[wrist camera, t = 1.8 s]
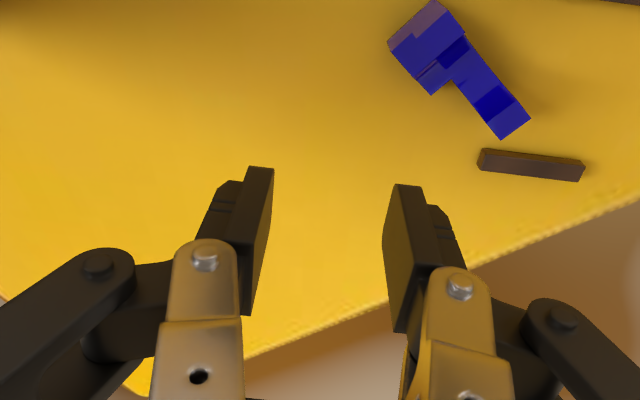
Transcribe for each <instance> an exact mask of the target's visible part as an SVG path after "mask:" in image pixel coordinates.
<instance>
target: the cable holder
mask: <svg viewBox="0 0 640 400" xmlns="http://www.w3.org/2000/svg"><path fill="white" fill-rule="evenodd" d="M464 33H465V32H464V30H463V29H462V28H461V26H460V25H459V24H458V22H457V21H456V20H455V18H454V17H453V16H452V15H451V13H450V12H449V11H448V10H447V9H446V8H445V7H444V6H442V5H441V4H440V3H439V2H438V1H436V0H431V1H430V2H429V3H428V4H427V5H425V6H424V7H423V8H422V9H421V10H420V11H419V12H418V13H417V14H416V15H415V16H414V17H413V18H411V19H410V20H409V21H408V22H407V23H406V24H405V25H404V26H403V27H402V28H401V29H400V30H399V31H397V32H396V33H395V34H394V35H393V36H392V37H391V38H390V39H389V40H388V41H387V44H388V46H389V48H390V51H391V53H392V54H393V55H394V56H395V57H396V58H397V59H398V61H399V62H400V63H401V64H402V65H403V66H404V68H405V69H406V70H407V71H408V72H409V73H410V74H411V76H412V77H413V78H414V79H416V80H417V81H418V82H419V83H420V84H421V85H422V86H423V88H424V89H425V90H426V91H427V92H428V93H429V94H430V95H432V94H433V93H435V92H436V91H437V90H438V89H439V88H441V87H442V86H443V85H444V84H446V83H447V82H448V81H449V80H450V79H451V80H452V81H453V82H454V83H455V84H456V86H457V87H458V88H459V89H460V91H461V92H462V93H463V94H464V95H465V97H466V98H467V99H468V100H469V102H470V103H471V104H472V106H473V107H474V108H475V109H476V111H477V112H478V113H479V115H480V116H481V117H482V118H483V120H484V121H485V122H486V124H487V125H488V126H489V127H490V129H491V130H492V131H493V132H494V133H495V135H496V136H497V137H498V138H499V139H500V141H501V140H502V139H504V138H505V137H506V136H508V135H509V134H510V133H512V132H513V131H515V130H516V129H517V128H519V127H520V126H522V125H523V124H524V123H526V122H527V121H529V120H530V119H531V118H530V116H529V115H528V114H527V112H526V111H525V110H524V108H523V107H522V106H521V104H520V103H519V102H518V101H517V99H516V98H515V97H514V96H513V95H512V94H511V93H510V92H509V91H508V90H507V88H506V87H505V86H504V85H503V84H502V83H501V81H500V80H499V79H498V78H497V77H496V75H495V74H494V73H493V72H492V71H491V69H490V68H489V67H488V66H487V64H486V63H485V62H484V61H483V59H482V58H481V57H480V55H479V54H478V53H477V52H476V50H475V49H474V48H473V46H472V45H471V43H470V42H469V41H468V39H467V38H466V36H465V35H464Z"/></svg>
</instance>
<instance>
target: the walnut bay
mask: <svg viewBox="0 0 640 400" xmlns="http://www.w3.org/2000/svg"><path fill="white" fill-rule="evenodd" d="M602 1H609V2H617V3H624V4H631V5H638V6H640V0H602ZM477 166H478V167H479V169H480V170H481V171H489V172H497V173H506V174H514V175H522V176H530V177H538V178H546V179H554V180H562V181H570V182H579V180H580V178H581V176H582V174H583V172H584V170H585V168H586V166H585V165H584V164H583V163H582V162H581V161H579V160H572V159H564V158H556V157H548V156H540V155H532V154H524V153H516V152H508V151H500V150H492V149H484V148H482V150H481V153H480V156H479V159H478V161H477Z"/></svg>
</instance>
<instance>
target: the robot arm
mask: <svg viewBox="0 0 640 400" xmlns="http://www.w3.org/2000/svg"><path fill="white" fill-rule="evenodd" d="M273 187H274V169H273V168H265V167H257V166H249V167H248V169H247V172H246V175H245V178H244V180H243V182H241V181H232V180H228V181H227V182H226V183H224V184H223V185H222V186H220V187H219V188H217V190H216V193H215V195H214V197H213V199H212V202H211V204H210V206H209V208H208V211H207V213H206V215H205V217H204V219H203V222H202V224H201V226H200V228H199V230H198V233H197V235H196V237H195V239H194V241H191V242H188V243H186V244H184V245H183V246H181V247H180V248H179V249H178V250H177V251H176V253H175V255H174V258H173V259H171V260H168V261H164V262H158V263H150V264H141V265H135V262H134V259H133V257H132V256H131V255H130V254H129V253H128V252H126V251H124V250H121V249H117V248H97V249H92V250H89V251H86V252H83V253H81V254H79V255H77V256H75V257H74V258H72V259H71V260H69V261H68V262H66V263H65V264H63V265H62V266H60V267H59V268H57V269H56V270H54V271H53V272H51V273H50V274H49V275H47V276H46V277H44V278H43V279H41V280H40V281H38V282H37V283H35V284H34V285H32V286H31V287H29V288H28V289H26V290H25V291H23V292H22V293H20V294H19V295H17V296H16V297H14V298H13V299H11V300H10V301H8V302H7V303H5V304H4V305H3V306H1V307H0V400H107V399H108V398H109V397H110V396H111V395H112V393H113V392H114V391H115V390H116V389H117V388H118V387H119V386H120V385H121V384H122V383H123V382H124V381H125V380H126V379H127V378H128V377H129V376H130V375H131V373H132V372H133V371H134V370H135V369H136V368H137V367H138V366H139V365H140V364H141V362H142V361H143V359H144V358H148V357H154V356H155V357H154V364H153V371H152V378H151V385H150V391H149V399H148V400H262V399H252V398H245V379H244V359H243V339H242V321H241V317H240V316H241V315H244V316H251V312H252V308H253V303H254V299H255V294H256V290H257V285H258V281H259V276H260V271H261V267H262V262H263V258H264V253H265V249H266V244H267V240H268V235H269V230H270V223H271V214H272V201H273ZM455 238H456V237H455V235H454V232H453V230H452V227H451V224H450V221H449V219H448V216H447V215H446V214H445V213H444V212H443V211H442V210H441V209H440V208H439V207H438V206H437V205H430V204H427V203H426V200H425V197H424V194H423V190H422V188H421V187H420V186H412V185H403V184H395V185H394V187H393V190H392V194H391V198H390V203H389V207H388V211H387V215H386V219H385V223H384V227H383V234H382V251H383V258H384V266H385V273H386V281H387V288H388V296H389V303H390V311H391V318H392V326H393V332H395V333H404V334H407V340H408V343H407V346H406V348H405V351H404V355H403V363H402V372H401V380H400V388H399V396H398V400H563V399H562V398H561V397H560V396H559V395H558V394H559V392H560V391H561V390H562V388H563V387H564V386H565V387H566V389H567V390H568V391H569V392H570V393H571V394H572V395H573V397H574V398H575V399H576V400H640V368H639V367H638V366H637V365H636V364H635V363H634V362H632V360H631V359H629V358H628V357H627V356H626V355H625V354H624V353H623V352H622V351H621V350H620V349H619V348H618V347H617V346H616V345H615V344H614V343H612V341H611V340H609V339H608V338H607V337H606V336H605V335H604V334H603V333H602V332H601V331H600V330H599V329H597V327H596V326H595V325H593V323H592V322H590V321H589V320H588V319H587V318H586V317H585V316H584V315H583V314H582V313H581V312H579V311H578V310H576V309H575V308H573V307H572V306H570V305H568V304H566V303H564V302H561V301H558V300H554V299H549V298H540V299H536V300H534V301H532V302H531V303H530V304H529V306H528V308H527V310H524V309H521V308H518V307H515V306H512V305H509V304H507V303H504V302H501V301H498V300H496V299H494V298H492V297H491V296H490V291H489V289H488V287H487V285H486V284H485V283H484V282H483V280H482V279H480V278H479V277H478V276H476V275H475V274H473V273H471V272H470V271H468V270H467V267H466V265H465V262H464V259H463V256H462V254H461V251H460V248H459V246H458V243H457V240H455Z"/></svg>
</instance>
